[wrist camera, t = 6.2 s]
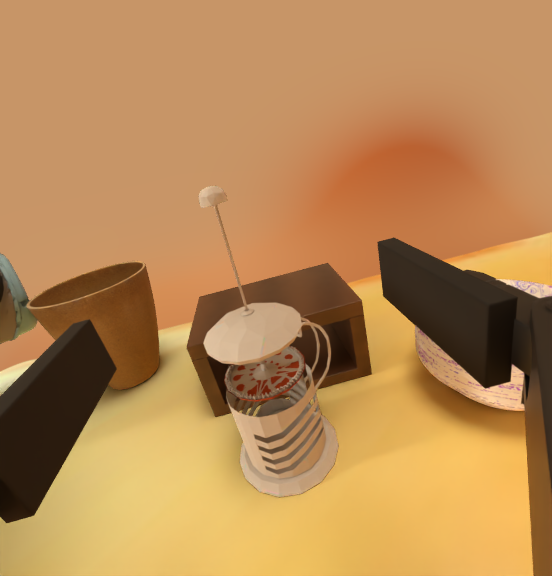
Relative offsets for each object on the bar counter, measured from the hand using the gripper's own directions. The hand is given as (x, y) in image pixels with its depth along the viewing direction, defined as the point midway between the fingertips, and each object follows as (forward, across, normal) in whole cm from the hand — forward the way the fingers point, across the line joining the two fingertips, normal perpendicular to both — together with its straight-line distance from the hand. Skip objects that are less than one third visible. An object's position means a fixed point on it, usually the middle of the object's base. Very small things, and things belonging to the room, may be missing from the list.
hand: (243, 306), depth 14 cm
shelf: (+22, +1, -20) cm, 30 cm away
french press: (+10, 0, -20) cm, 23 cm away
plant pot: (+30, -22, -20) cm, 42 cm away
